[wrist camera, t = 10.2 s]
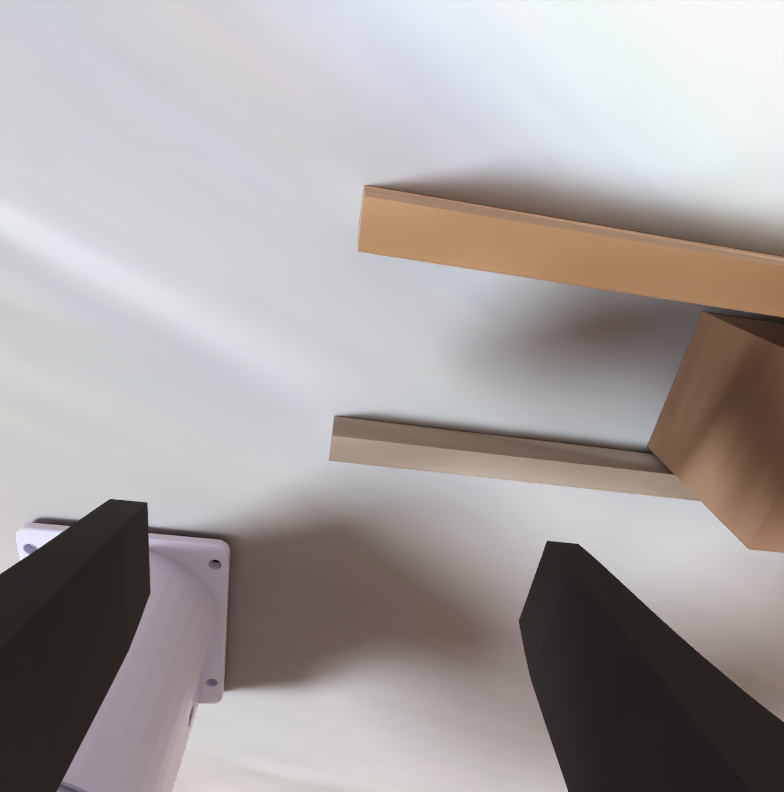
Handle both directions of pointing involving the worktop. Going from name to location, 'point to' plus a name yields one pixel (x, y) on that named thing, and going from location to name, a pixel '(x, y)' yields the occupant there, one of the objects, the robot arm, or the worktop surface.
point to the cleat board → (558, 262)
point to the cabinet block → (730, 426)
